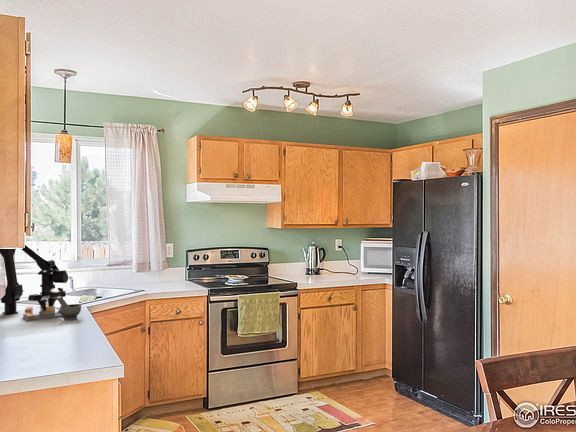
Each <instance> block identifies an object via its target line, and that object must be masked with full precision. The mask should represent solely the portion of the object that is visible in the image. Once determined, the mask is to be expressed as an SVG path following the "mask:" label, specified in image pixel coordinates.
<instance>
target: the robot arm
mask: <svg viewBox="0 0 576 432" xmlns="http://www.w3.org/2000/svg"><path fill="white" fill-rule="evenodd" d="M20 250H21V251H22V252H24V253H25V254H27V256H29V258H31V259H32V260H33V261H34V262H36V265H37V267H39V268H40V271H39V272H38V273H37V276H38V275H39V276H40V275H41V284H40V285H39V287H41V291H40V293H39V294H38V293H33V294H29V296H28V297H27V299H28V301H30V302H31V301H33V302H38V304H39V306H41V308H42V310H43V311H46V306H54V304H55V302H56V301H58V300H57V299H58V298H59V297H61V296H62V297H63V298H64V297H66V295H67V293H66V291H64V288H63V287H61V286H60V287H58V288H57V287H56V284H66V283H68V280H69V274H68V272H67V269H63V270H60V269H59V268H58V267H57V265H56V262H55V260H54V259H52V258H50V257H49V256H45V255H43V254H42V253H40V252H39V250H37V248H34V247H33V246H32V245H31V244H30V243H28V241H26V240H25V248H23V249H20ZM15 253H16V248H15V249H0V255H1V257H2V258H3V263H4V265H3V266H4V269H5V270H4V271H5V276H6V277H5V278H6V285H5V290H4V291H5V293H4V295H3V296H2V297H1V298H0V302H1V304H4V305H3V306H4V311H2V314H3V313H4V315H12V314H14V313H15V314H19V311H17V302H19V301H20V300H21V297H22V296H23V294H24V293H23V292H24V290H23V289H24V288H23V284H19V282H18V277H17V271H16V264H15V258H14V255H15ZM47 303H48V305H47Z"/></svg>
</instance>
